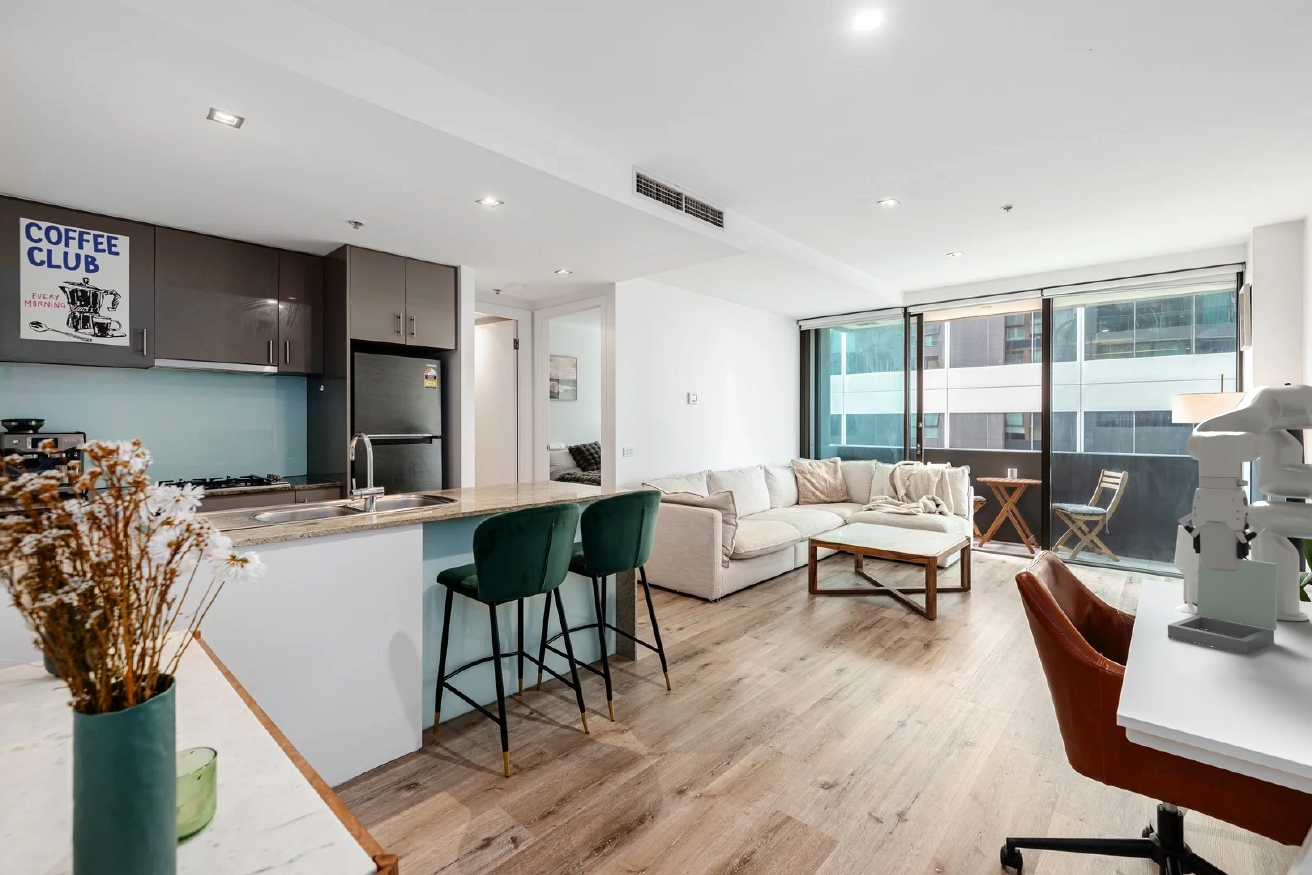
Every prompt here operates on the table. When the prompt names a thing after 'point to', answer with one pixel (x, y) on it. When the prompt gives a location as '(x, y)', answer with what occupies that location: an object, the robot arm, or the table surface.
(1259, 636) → the duct box
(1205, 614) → the plate
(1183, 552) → the champagne flute
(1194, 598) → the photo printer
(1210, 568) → the can
